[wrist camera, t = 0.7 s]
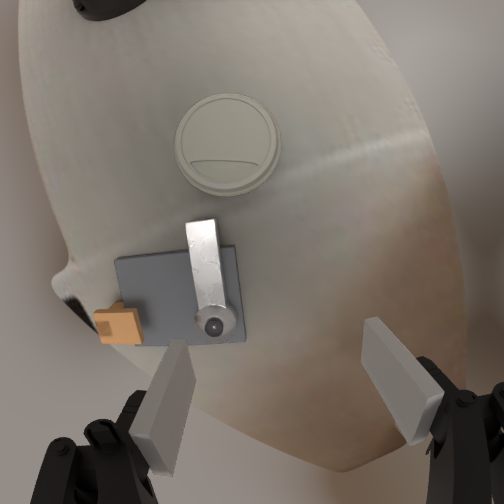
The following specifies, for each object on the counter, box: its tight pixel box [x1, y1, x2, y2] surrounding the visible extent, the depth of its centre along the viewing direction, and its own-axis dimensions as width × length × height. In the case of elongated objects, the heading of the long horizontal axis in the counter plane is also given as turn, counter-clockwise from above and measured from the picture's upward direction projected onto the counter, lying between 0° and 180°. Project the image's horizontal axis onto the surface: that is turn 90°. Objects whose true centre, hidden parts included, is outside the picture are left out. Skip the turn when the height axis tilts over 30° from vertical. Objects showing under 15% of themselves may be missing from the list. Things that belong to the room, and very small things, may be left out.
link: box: [185, 218, 237, 343], centre depth 31 cm, size 14×5×3 cm, turn 6°
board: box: [114, 245, 246, 346], centre depth 34 cm, size 12×15×2 cm
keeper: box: [93, 302, 145, 344], centre depth 32 cm, size 4×6×6 cm
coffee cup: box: [174, 93, 281, 197], centre depth 25 cm, size 8×8×12 cm
